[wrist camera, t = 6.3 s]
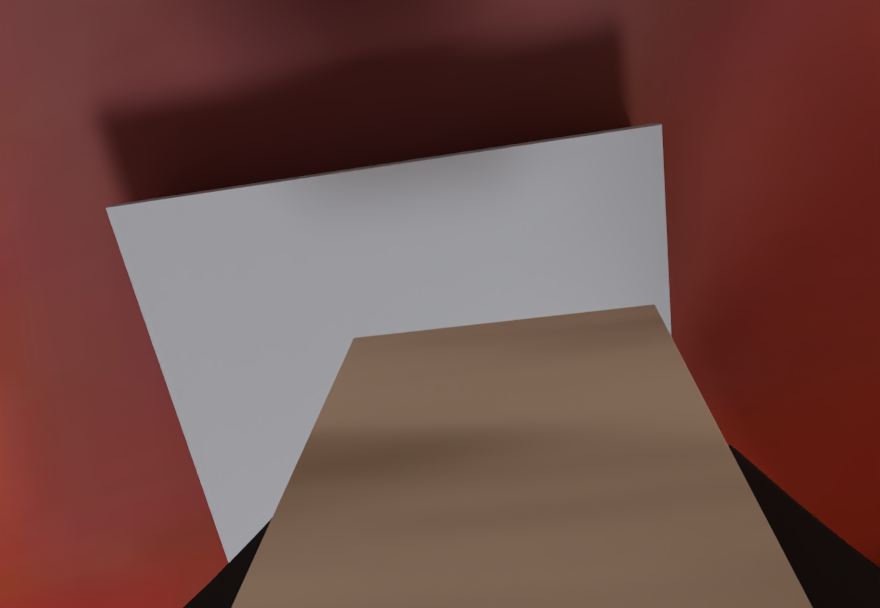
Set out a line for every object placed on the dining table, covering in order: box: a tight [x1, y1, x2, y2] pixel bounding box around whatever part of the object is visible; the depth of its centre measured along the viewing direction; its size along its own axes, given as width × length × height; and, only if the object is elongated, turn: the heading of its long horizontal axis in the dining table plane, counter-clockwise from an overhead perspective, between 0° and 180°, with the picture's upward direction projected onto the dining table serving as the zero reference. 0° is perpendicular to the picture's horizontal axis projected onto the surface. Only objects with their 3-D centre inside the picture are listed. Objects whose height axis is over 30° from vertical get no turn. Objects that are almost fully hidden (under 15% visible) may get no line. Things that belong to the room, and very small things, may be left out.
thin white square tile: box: [106, 123, 672, 562], centre depth 19 cm, size 13×13×2 cm
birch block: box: [231, 304, 813, 608], centre depth 9 cm, size 4×4×6 cm
